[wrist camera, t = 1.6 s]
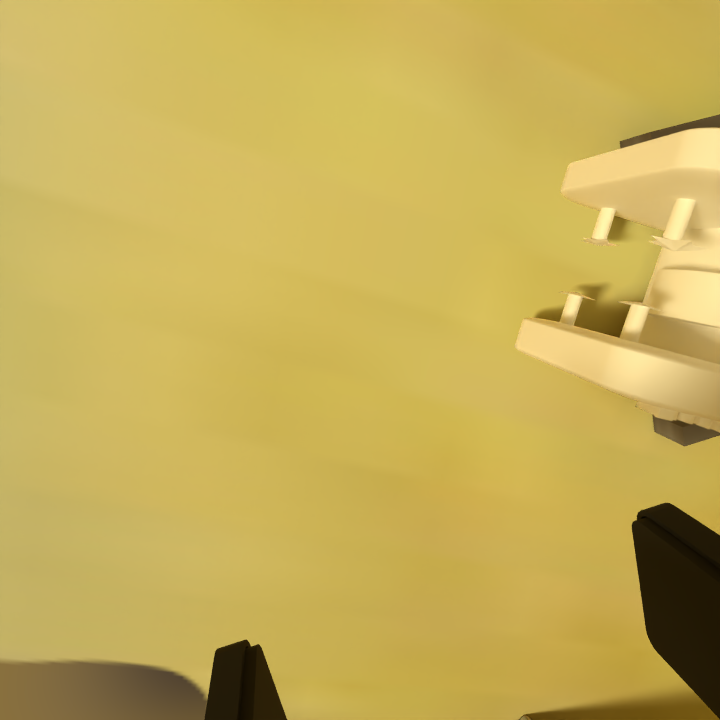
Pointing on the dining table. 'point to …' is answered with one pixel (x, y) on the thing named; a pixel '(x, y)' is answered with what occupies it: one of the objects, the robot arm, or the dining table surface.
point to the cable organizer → (667, 285)
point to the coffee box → (525, 718)
